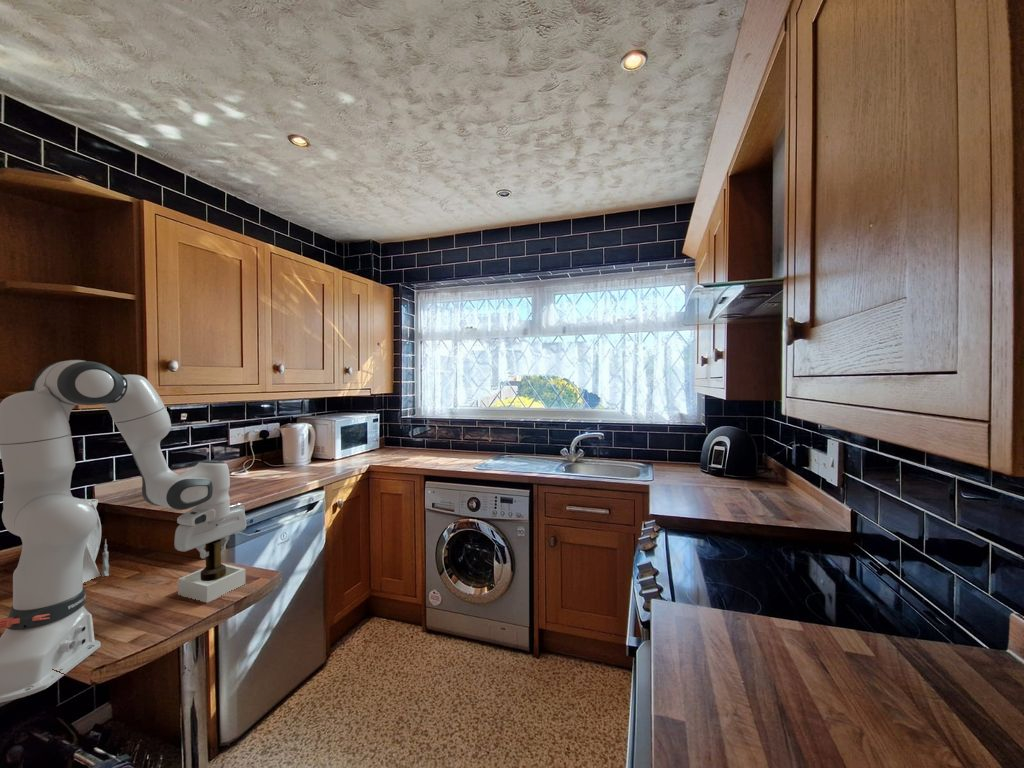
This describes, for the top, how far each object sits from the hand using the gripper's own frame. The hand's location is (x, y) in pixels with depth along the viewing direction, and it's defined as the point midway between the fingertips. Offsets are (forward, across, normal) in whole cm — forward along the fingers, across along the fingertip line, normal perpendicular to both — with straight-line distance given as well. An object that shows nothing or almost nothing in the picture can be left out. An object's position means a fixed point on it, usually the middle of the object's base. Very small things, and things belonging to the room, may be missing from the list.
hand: (213, 554), depth 129 cm
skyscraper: (+12, +10, -45) cm, 48 cm away
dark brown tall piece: (+7, 0, 0) cm, 7 cm away
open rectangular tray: (+11, 0, 0) cm, 11 cm away
